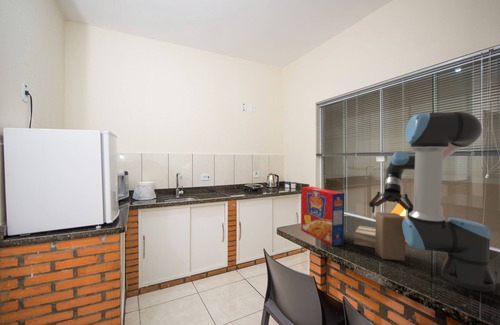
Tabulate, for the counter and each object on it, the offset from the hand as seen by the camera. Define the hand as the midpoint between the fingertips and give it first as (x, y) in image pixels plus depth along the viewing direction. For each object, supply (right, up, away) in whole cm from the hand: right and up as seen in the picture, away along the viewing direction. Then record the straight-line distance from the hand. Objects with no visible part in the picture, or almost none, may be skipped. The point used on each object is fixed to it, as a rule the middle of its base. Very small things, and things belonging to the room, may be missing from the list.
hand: (389, 220), depth 114 cm
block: (-3, -16, -5) cm, 17 cm away
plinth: (-3, -16, +13) cm, 20 cm away
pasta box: (-28, -15, +21) cm, 39 cm away
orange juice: (+18, -16, +18) cm, 30 cm away
